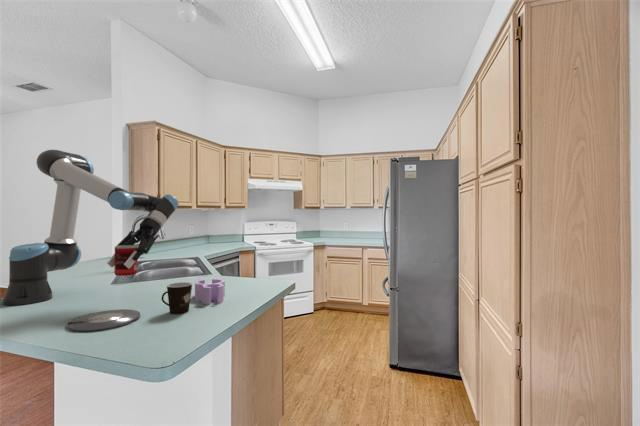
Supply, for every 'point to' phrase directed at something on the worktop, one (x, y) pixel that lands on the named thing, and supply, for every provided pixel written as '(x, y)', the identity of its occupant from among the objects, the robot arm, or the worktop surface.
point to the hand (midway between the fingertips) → (118, 265)
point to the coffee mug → (178, 297)
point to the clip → (210, 291)
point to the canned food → (124, 260)
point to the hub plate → (103, 320)
